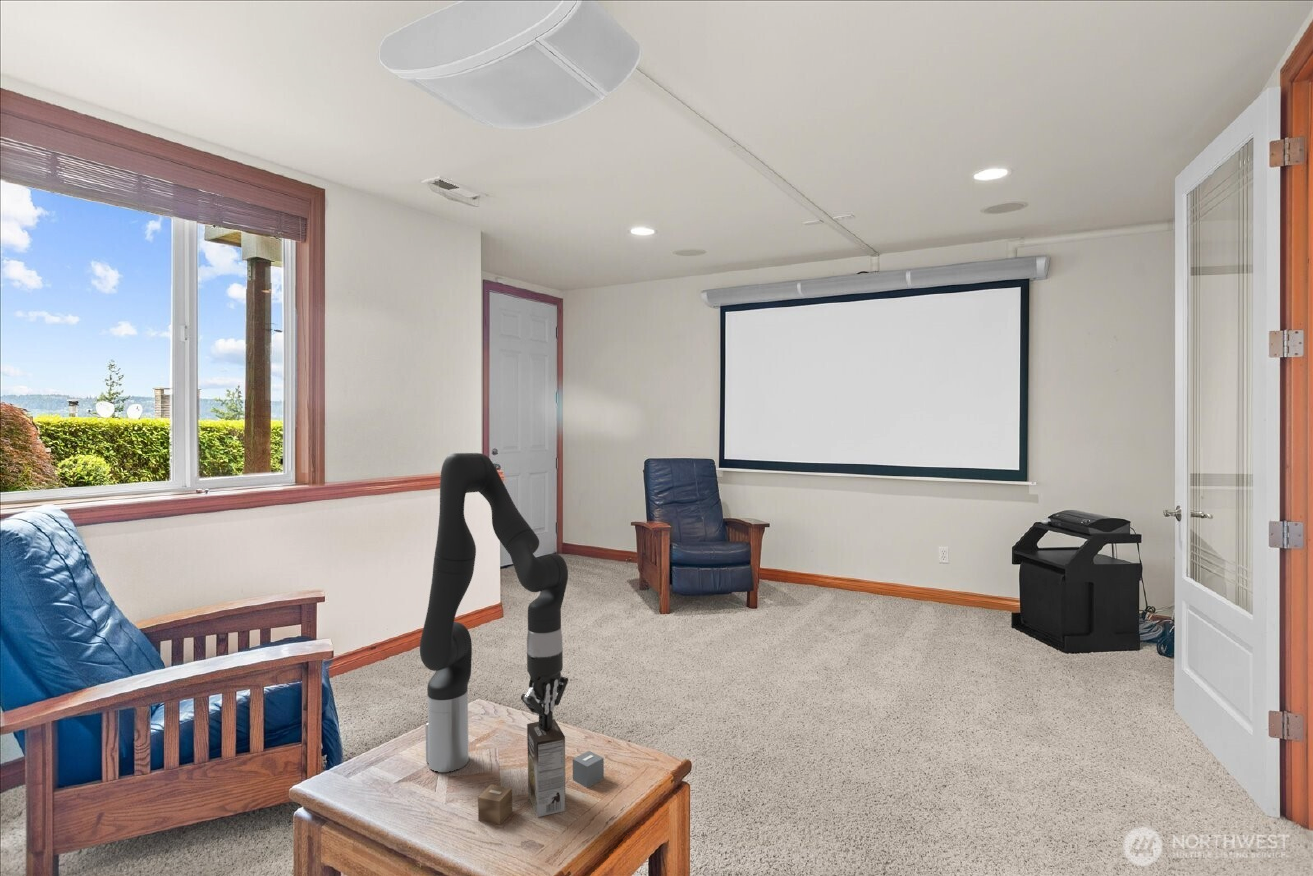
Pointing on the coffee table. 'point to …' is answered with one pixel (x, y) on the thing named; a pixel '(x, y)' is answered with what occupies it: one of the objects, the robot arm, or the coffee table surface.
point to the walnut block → (495, 804)
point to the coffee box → (546, 769)
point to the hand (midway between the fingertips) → (545, 728)
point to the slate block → (588, 769)
